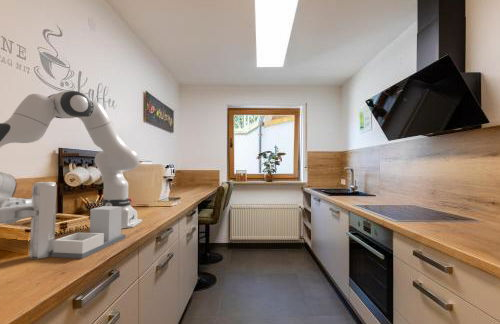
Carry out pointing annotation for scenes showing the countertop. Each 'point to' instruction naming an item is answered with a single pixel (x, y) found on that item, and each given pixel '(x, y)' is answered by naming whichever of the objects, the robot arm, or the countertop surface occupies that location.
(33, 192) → the white upright block
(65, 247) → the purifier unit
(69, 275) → the countertop surface
